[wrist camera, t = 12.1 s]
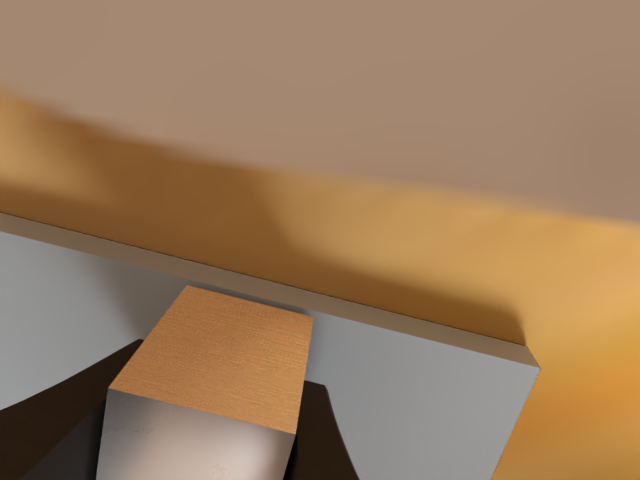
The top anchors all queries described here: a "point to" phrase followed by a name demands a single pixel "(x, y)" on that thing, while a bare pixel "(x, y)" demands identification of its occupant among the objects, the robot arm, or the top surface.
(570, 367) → the top surface
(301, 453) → the robot arm
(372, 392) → the board
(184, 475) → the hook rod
